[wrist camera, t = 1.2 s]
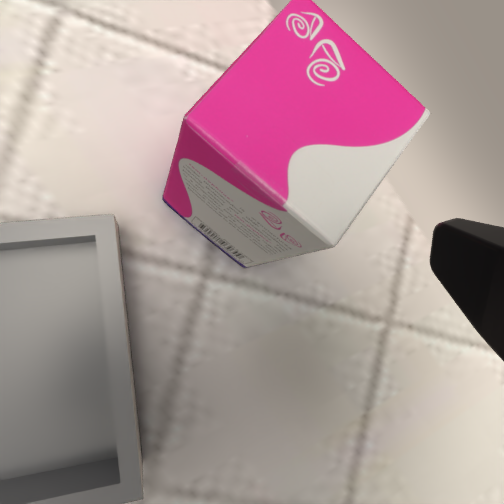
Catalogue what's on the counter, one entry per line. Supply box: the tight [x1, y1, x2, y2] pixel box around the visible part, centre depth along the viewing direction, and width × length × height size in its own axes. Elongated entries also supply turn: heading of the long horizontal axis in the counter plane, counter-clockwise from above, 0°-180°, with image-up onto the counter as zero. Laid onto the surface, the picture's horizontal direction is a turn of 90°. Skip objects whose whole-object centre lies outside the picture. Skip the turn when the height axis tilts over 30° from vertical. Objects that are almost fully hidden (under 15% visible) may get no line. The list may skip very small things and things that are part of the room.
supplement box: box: [163, 0, 430, 268], centre depth 19 cm, size 6×6×12 cm
